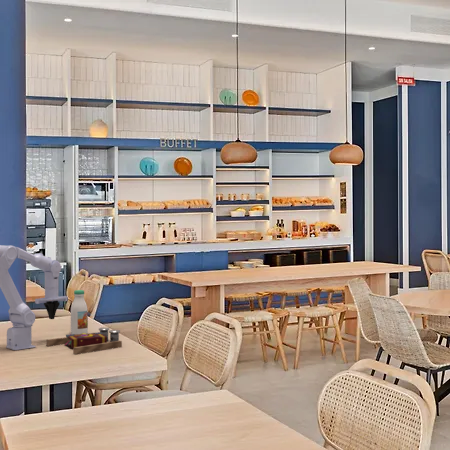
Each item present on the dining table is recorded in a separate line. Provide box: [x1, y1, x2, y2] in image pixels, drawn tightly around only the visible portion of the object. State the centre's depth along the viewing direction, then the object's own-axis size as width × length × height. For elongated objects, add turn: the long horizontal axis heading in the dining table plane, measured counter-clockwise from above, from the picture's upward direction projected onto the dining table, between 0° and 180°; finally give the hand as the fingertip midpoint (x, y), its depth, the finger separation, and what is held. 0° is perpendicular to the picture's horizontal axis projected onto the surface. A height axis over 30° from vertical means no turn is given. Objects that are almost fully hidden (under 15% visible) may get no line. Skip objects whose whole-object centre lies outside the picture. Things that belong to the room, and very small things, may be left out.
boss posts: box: [98, 326, 121, 342], centre depth 290 cm, size 5×13×6 cm, turn 43°
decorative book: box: [64, 331, 107, 350], centre depth 284 cm, size 11×16×5 cm
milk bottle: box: [70, 289, 89, 335], centre depth 311 cm, size 8×8×20 cm
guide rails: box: [46, 336, 123, 355], centre depth 282 cm, size 22×23×2 cm
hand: (51, 318), depth 291 cm, fingers closed
